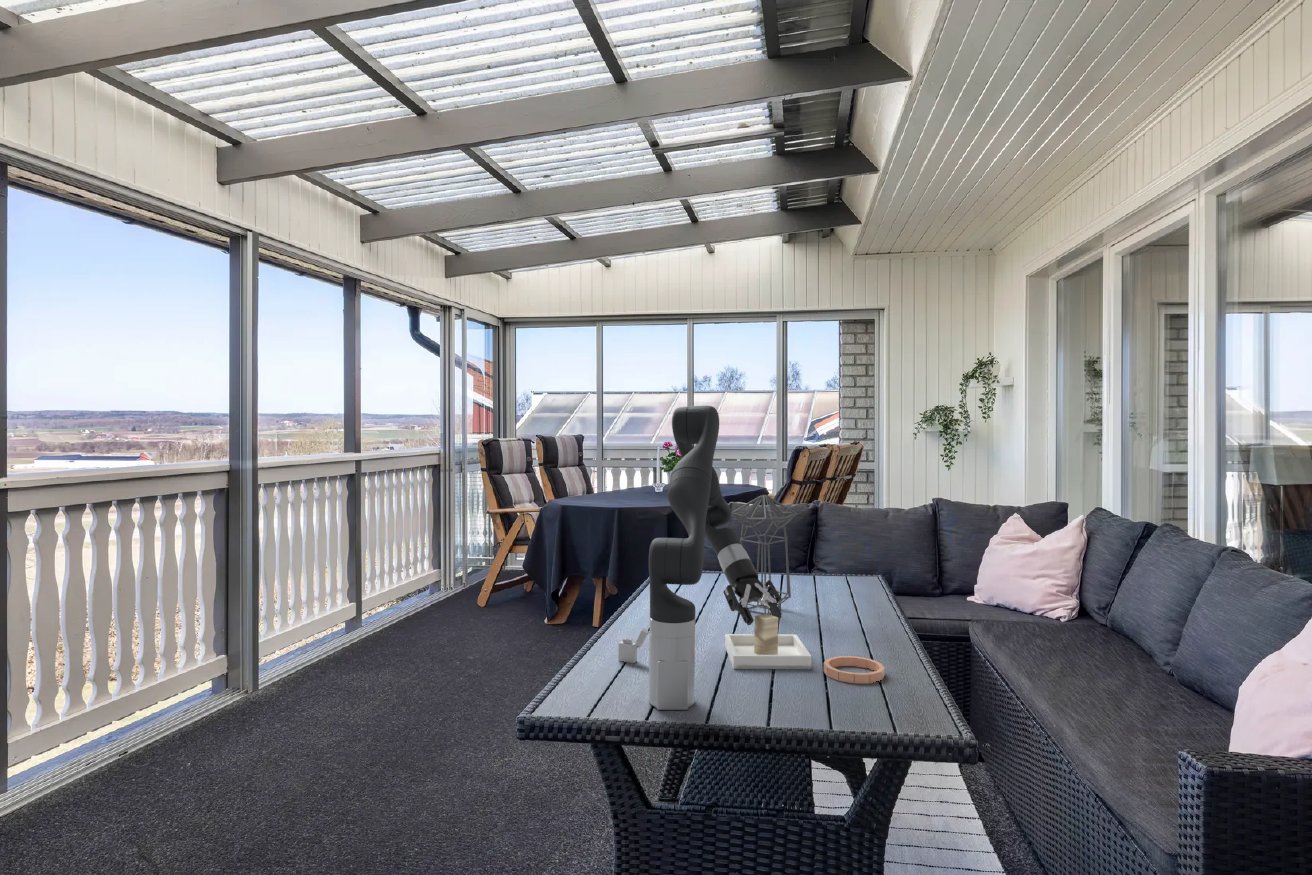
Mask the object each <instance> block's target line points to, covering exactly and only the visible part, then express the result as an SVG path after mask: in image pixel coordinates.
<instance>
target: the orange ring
mask: <svg viewBox="0 0 1312 875" xmlns="http://www.w3.org/2000/svg"><path fill="white" fill-rule="evenodd" d="M838 667H858V668H863V669H867V668H869V669H868V670H870V669H871V671H870V672H851V671H846V670H840V669H837V668H838ZM873 670H874V671H873ZM885 670H886V667H885V666H884V665H883V664H882V663H881V662H880V661H877V660H874V659H871V658H867V657H861V656H856V655H854V656H852V655H839V656H833V657H828V658H826V659H825V660H824V662H823V672H824V674H825V675H826V677H829V678H831V679H833V680H836V681H839V682H843V683H849V684H857V685H859V684H863V685H864V684H873V682H874V683H877V682H876V681H879V682H881V681H880V680H883V679H884V678H885V677H884V676H886V672H885Z"/></svg>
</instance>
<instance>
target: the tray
mask: <svg viewBox="0 0 1312 875" xmlns="http://www.w3.org/2000/svg"><path fill="white" fill-rule="evenodd" d="M724 647H725V650H726V652H727V656H728V659H729V661H730V663H731V666H732V669H733V670H812V664H813V663H812V660H813V659H812V655H811V653H810V652H809V650H808V649H807V648H806V646H805V644H803V642H802V640H800V637H798V635H797V634H787V633H786V634H781V633H780V634H779V633H778V655H758V654H756V653H754V633H753V634H751V633H749V634H747V633H745V634H744V633H743V634H742V633H741V634H740V633H729V634H728V633H725V636H724Z"/></svg>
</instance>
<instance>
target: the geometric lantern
mask: <svg viewBox="0 0 1312 875" xmlns="http://www.w3.org/2000/svg"><path fill="white" fill-rule="evenodd" d="M760 505H761V507H760ZM777 505H779V506H780V507H781V508H784V509H786V510H787V511H782V510H781V508H780V507H779V506H777ZM747 506H749V507H748V508H746V507H747ZM766 506H767V507H766ZM744 508H746V510H745V511H743V512H738V511H740V510H742V509H744ZM758 510H762V511H763V512H764V514H763V515H764V517H755V516H756V514H757V512H758ZM731 513H732V517H734V518H735V519H736V520H737V521H738V522H739V523H740V524H741V533H740V539H739V541H740V543H741V545H742V546H743V543H744V542H750V543H754V544H758V545H757V560H756V571H757V573H758V574H759V570H760V569H759V568H761V570H760V574H761V575H760V582H761V583H766V582H767V566H768V580H770V581H771V582H772V577H771V575H772V573H771V554H770V552H771V550H770V545H771V544H776V543H777V544H778V543H781V542H784V546H785V557H786V558H785V561H786V562H785V566H786V592H783V591H781V590H777V592H778V594H781V595H784V596H783V597H781V600H780V601H779V602H778V603H777V606H778V608H779V610H780V612H781V611H782V604H783V603H785V602H786V601H787V600H788V599H791V597H792V596H791V594H792V593H791V583H790V582H791V581H790V579H791V577H790V569H789V568H790V567H789V556H788V554H789V551H788V550H789V548H788V540H789V537H788V534H787V530H786V526H787V525H788V524H789V523H790V521H792V520H793V519H794V518H795V517H796V516H797V515H798V513H797V512H796V511H794V510H793V509H791V508H789V507H788V506H786V505H784V504H782V503H781V502H779V501H778V500H775V499H774V498H772V497H771V496H768V494H760V496H757V497H755V498H754V499H751V500H750V501H748V502H747V503H745V504H744V505H741V506H740V507H738V508H736V509H735V510H733V511H731ZM771 513H773V516H774V517H773V516H772V514H771ZM778 513H779V515H780V516H778ZM751 514H752V515H751ZM786 514H787V515H786ZM767 515H768V517H767ZM785 515H786V516H785ZM747 516H748V517H747ZM754 520H755V521H756V520H757V521H758V520H759V521H758V522H756V523H755V522H754ZM766 520H771V523H770V525H769V526H768V527H767V530H766V531H765V533H763V534H762V533H761V531H760V530H759V527H757V525H760V524H761V523H763V522H764V521H766ZM745 523H749V525H746V524H745ZM752 524H753V525H752ZM780 524H782V525H780ZM773 525H774V526H775V527H776V530H775V532H774V533H773V535H770V534H768V532H769V531H770V529H771V527H772V526H773ZM748 528H752V530H753V532H754V535H748V536H745V535H746V533H747V530H748ZM782 528H783V534H784V537H783V536H777V535H776V533H777V532H778V530H780V529H782ZM744 529H745V530H744ZM756 530H757V531H758V532H757V531H756ZM758 533H759V534H758ZM752 537H757V539H758V541H753V540H749V539H748V538H752ZM761 537H764V542H763V540H762V539H761ZM767 537H771V538H770V539H769V541H768V542H767ZM773 538H776V539H777V538H778V539H781V540H775V541H772V540H773ZM760 551H761V555H760ZM760 556H761V557H760ZM760 558H761V562H760ZM767 561H768V562H767ZM767 563H768V565H767ZM760 564H761V565H760ZM760 566H761V567H760ZM736 597H738V598H739V596H738V595H736ZM763 597H764V595H763V594H762V597H761V598H763ZM766 600H767V601H769V600H768V599H766ZM752 602H754V601H752ZM752 602H749V603H747V605H746V608H747V607H748V609H749V611H750V613H752V612H753V613H757V614H760V615H764V614H769V615H772V614H771V612H770V610H769V607H768V606H766V605H765V604H761V603H760V602H759V601H756V602H755V603H757V604H752ZM769 602H770V601H769ZM755 607H756V608H760V609H764V612H761V611H758V610H757V611H756V610H752V609H753V608H755Z"/></svg>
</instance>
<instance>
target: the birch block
mask: <svg viewBox="0 0 1312 875" xmlns="http://www.w3.org/2000/svg"><path fill="white" fill-rule="evenodd" d="M753 629H754V630H753V631H754V632H753V634H754V653H756V654H758V655H778V634H779V620H778V617H775V616H772V614H757V615H754V628H753Z"/></svg>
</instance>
